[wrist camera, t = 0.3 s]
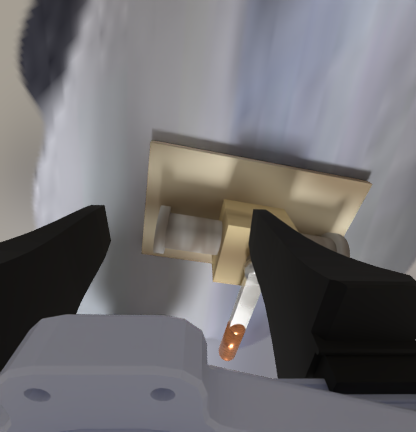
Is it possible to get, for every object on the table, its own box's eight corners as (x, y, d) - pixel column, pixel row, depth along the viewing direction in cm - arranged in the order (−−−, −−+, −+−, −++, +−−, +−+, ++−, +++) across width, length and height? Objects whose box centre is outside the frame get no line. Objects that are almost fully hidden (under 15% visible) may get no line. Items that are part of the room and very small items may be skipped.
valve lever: (246, 251, 19) (250, 265, 17) (272, 255, 19) (277, 269, 17) (214, 347, 24) (215, 363, 23) (234, 349, 24) (236, 365, 23)
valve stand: (317, 273, 27) (344, 320, 22) (143, 248, 25) (127, 293, 20) (366, 180, 22) (418, 212, 17) (152, 140, 20) (134, 162, 15)
